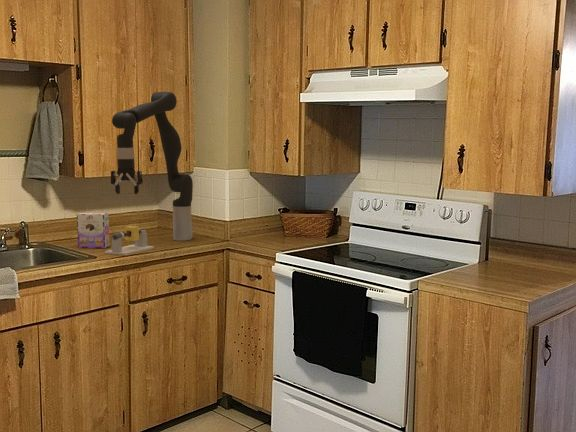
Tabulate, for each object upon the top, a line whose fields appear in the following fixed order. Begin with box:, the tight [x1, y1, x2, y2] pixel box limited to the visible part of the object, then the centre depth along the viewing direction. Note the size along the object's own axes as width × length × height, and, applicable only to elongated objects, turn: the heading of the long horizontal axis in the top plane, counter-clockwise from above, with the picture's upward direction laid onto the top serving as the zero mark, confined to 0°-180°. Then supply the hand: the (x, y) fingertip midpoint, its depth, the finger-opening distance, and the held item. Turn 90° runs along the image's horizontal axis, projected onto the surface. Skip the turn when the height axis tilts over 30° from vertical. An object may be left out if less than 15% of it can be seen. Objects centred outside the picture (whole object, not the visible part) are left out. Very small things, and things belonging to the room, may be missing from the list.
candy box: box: [76, 212, 111, 249], centre depth 328 cm, size 14×6×16 cm, turn 80°
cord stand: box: [104, 228, 155, 256], centre depth 319 cm, size 20×12×10 cm, turn 153°
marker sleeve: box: [123, 225, 140, 242], centre depth 320 cm, size 4×5×6 cm
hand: (127, 193), depth 311 cm, fingers open, 8 cm apart
